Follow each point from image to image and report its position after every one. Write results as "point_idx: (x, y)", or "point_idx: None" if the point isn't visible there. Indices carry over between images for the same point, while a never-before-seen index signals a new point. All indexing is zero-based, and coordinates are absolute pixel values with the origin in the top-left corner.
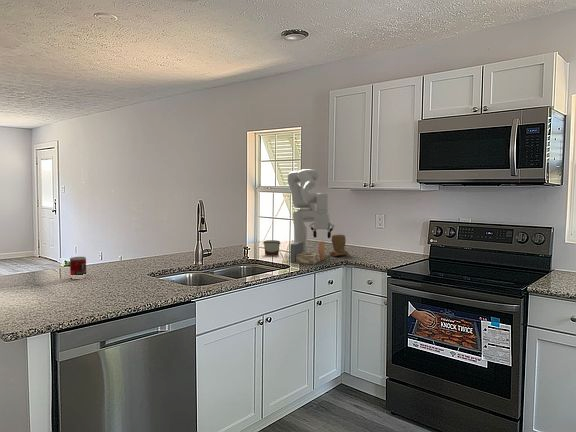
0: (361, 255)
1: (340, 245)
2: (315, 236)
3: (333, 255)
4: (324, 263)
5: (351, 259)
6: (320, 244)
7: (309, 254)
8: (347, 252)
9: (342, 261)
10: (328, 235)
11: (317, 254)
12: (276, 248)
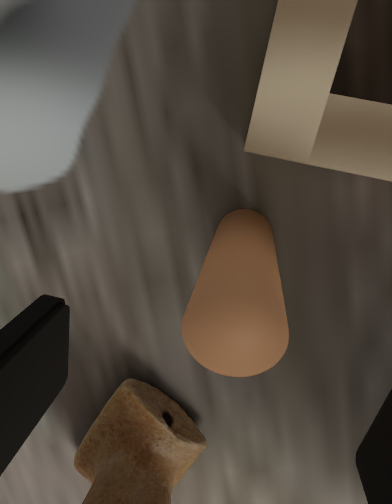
0: None
1: (95, 502)
2: (386, 432)
3: (169, 402)
4: (183, 35)
5: (21, 303)
6: (246, 271)
7: (389, 105)
8: (79, 457)
9: (55, 201)
10: (4, 328)
11: (267, 51)
12: None
